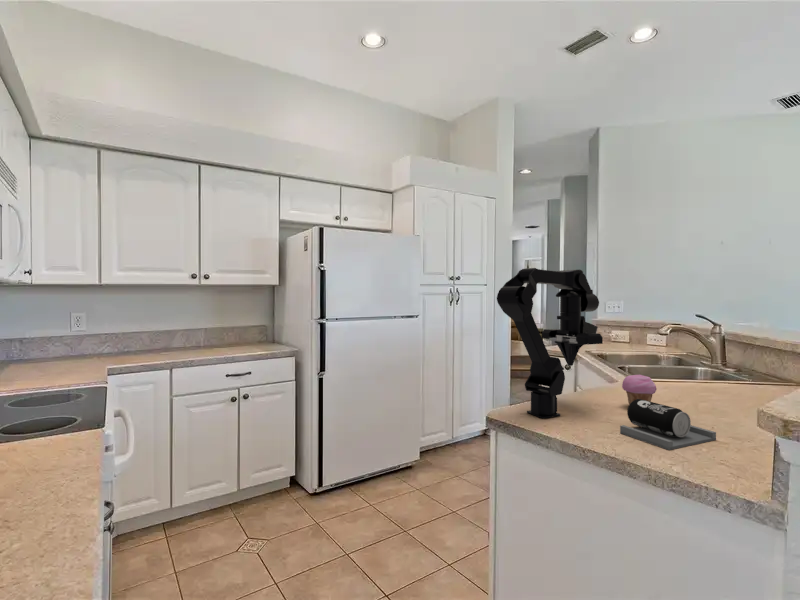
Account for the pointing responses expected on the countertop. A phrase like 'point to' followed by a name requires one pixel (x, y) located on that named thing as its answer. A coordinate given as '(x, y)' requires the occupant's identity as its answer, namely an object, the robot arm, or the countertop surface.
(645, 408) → the beverage can
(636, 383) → the cupcake
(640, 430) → the grey tray
